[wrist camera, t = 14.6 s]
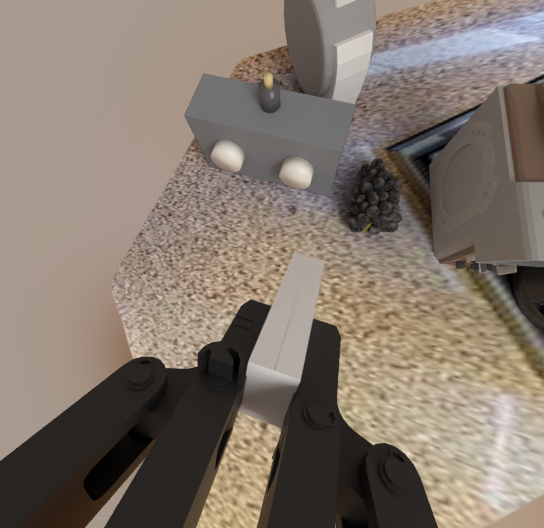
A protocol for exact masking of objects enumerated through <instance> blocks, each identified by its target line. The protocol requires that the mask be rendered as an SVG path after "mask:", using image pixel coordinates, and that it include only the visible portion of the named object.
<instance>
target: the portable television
mask: <svg viewBox="0 0 544 528" xmlns="http://www.w3.org/2000/svg"><path fill="white" fill-rule="evenodd" d="M429 174H430V192H431V211H432V229H433V247H434V255H435V256H436V258H437V259H439V260H440V264H455V265H456V268H458V269H462V268H465V265H471V269H473V270H474V272H480V273H481V272H485V271H486V266H487V270H489V271H495V270H497V275H503V274H508V273H514V272H517V269H516V265H520V266H536V267H544V82H542V83H541V84H510V85H507V86H497V88H496V89H495V90H494V91H493V92H492V93H491V94H490V96H489V97H488V98H487V99H486V100H485V101H484V103H483V104H482V105H481V106H480V107H479V108H478V109H477V111H476V112H475V113H474V114H473V115H472V116H471V118H470V119H469V120H468V121H467V122H466V123H465V124H464V126H463V127H462V128H461V129H460V130H459V131H458V133H457V134H456V135H455V136H454V137H453V138H452V139H451V141H450V142H449V143H448V144H447V145H446V146H445V148H444V149H443V150H442V151H441V152H440V153H439V154H438V156H437V157H436V158H435V159H434V160H433V161H432V163H431V164H430V165H429ZM497 265H498V266H497Z"/></svg>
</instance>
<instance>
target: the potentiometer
mask: <svg viewBox="0 0 544 528" xmlns="http://www.w3.org/2000/svg"><path fill="white" fill-rule="evenodd" d="M258 92H259V99H260V106H261V109H262V110H263V111H264V112H266V113H274V112H276V111H277V110H278V109H279V108H280V106H281V101H280V84H279V82H278V81H277V80H276V79H274V78H273V77H272V73H271V72H266V73H264V75H263V80H261V81H260V83H259V84H258Z"/></svg>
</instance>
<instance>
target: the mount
mask: <svg viewBox="0 0 544 528" xmlns="http://www.w3.org/2000/svg"><path fill="white" fill-rule="evenodd" d="M280 101H281V106H280V108H279V109H278V110H277V111H276V112H274V113H266V112H264V111H263V110H262V109H261V106H260V99H259V92H258V84H253V83H248V82H243V81H238V80H233V79H228V78H223V77H219V76H214V75H208V74H203V75H202V78H201V80H200V82H199V84H198V87H197V89H196V91H195V93H194V96H193V97H192V100H191V102H190V104H189V106H188V108H187V111H186V113H185V118H186V119H187V122H188V124H189V126H190V128H191V130H192V132H193V134H194V136H195V138H196V139H197V141H198V143H199V145H200V147H201V149H202V151H203V153H204V155H205V157H206V159H207V161H208V163H209V165H210V167H214V168H218V169H222V168H220V167H218V166H217V165H216V164H215V163H214V162H213V161H212V159H211V153H212V151H213V148H214V146H215V144H216V142H217V141H218V140H221V139H224V140H229V141H231V142H234V143H235V144H237V145H239V146H240V147H241V148H242V150H243V151H244V153H245V158H244V161H243V163H242V166H241V168H240V170H239V171H238V172H234V173H237V174H241V175H245V176H249V177H253V178H257V179H261V180H265V181H269V182H273V183H277V184H281V185H285V186H288V185H286V184H284V183H283V182H282V181H281V180H280V178H279V174H280V171H281V168H282V165H283V162H284V160H285V159H286V158H288V157H292V156H295V157H301V158H304V159H306V160H307V161H309V162H310V163H311V164H312V165H313V167H314V173H313V177H312V180H311V183H310V185H309V187H307V188H305V189H300V190H304V191H308V192H312V193H316V194H320V195H324V196H328V197H329V194H330V191H331V188H332V184H333V181H334V178H335V174H336V171H337V167H338V164H339V161H340V157H341V154H342V151H343V147H344V144H345V141H346V137H347V134H348V130H349V127H350V124H351V120H352V117H353V114H354V110H355V107H356V104H352V103H347V102H342V101H337V100H332V99H327V98H322V97H317V96H312V95H307V94H302V93H297V92H293V91H288V90H283V89H280ZM222 170H224V169H222ZM289 187H290V186H289Z"/></svg>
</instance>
